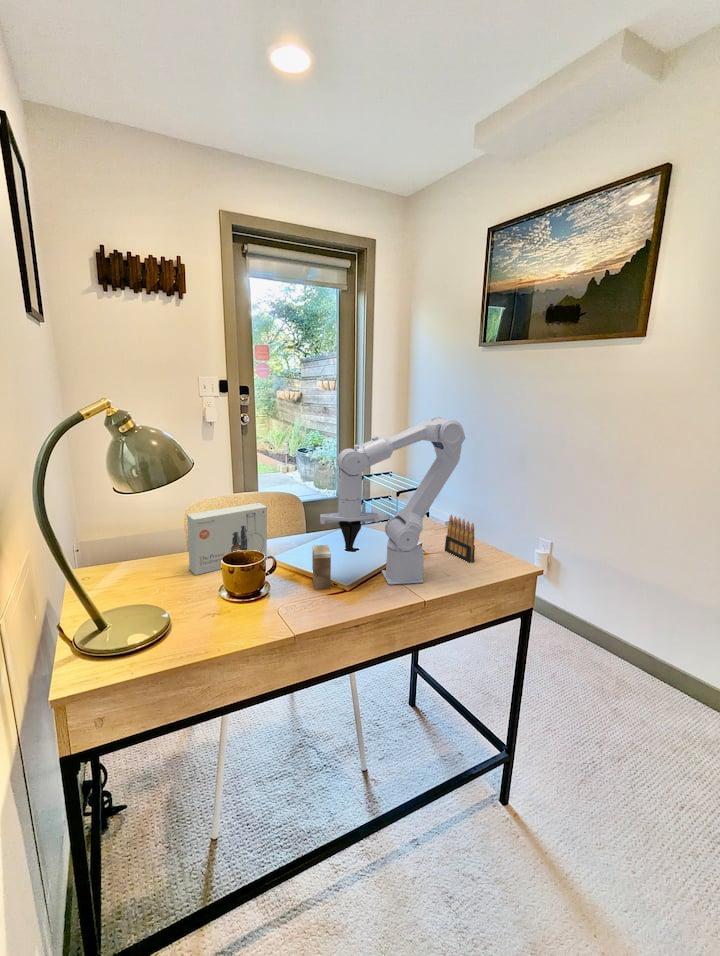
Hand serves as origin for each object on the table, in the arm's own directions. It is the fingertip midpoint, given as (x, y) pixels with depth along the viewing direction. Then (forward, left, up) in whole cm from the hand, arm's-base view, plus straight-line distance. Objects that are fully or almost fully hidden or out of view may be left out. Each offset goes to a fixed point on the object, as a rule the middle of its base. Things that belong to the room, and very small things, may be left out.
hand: (348, 549), depth 113 cm
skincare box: (+31, -16, -10) cm, 36 cm away
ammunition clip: (-36, -13, -10) cm, 40 cm away
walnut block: (+7, 0, -9) cm, 12 cm away
